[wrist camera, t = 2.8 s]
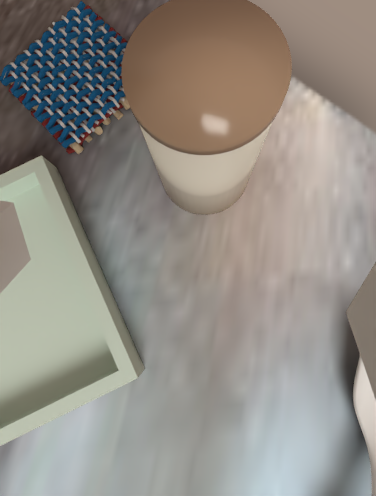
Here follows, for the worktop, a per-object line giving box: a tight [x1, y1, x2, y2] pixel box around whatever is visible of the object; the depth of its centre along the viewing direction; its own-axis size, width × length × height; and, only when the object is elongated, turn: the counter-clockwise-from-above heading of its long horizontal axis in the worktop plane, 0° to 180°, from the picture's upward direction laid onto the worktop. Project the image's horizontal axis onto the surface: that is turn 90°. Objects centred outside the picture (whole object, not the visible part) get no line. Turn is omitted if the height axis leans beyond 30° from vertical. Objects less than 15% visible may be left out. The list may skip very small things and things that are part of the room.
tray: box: [0, 155, 145, 446], centre depth 23 cm, size 18×14×2 cm
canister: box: [121, 0, 292, 215], centre depth 19 cm, size 7×7×12 cm
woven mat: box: [0, 1, 130, 154], centre depth 26 cm, size 10×11×2 cm
